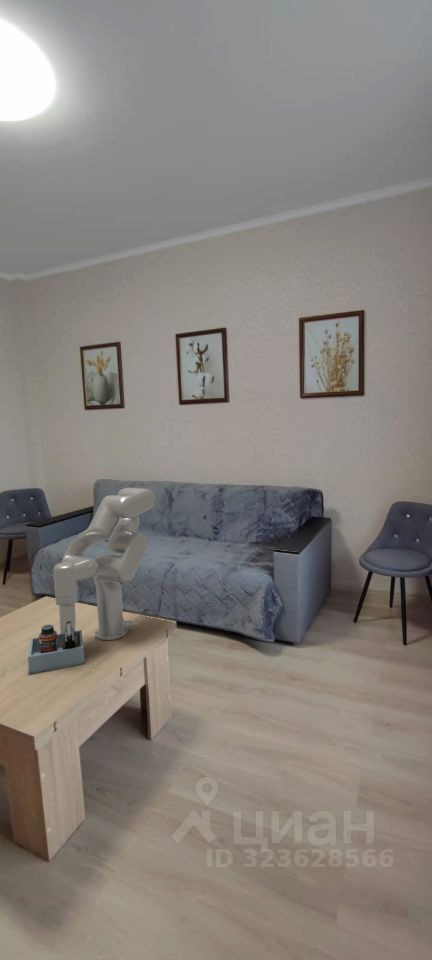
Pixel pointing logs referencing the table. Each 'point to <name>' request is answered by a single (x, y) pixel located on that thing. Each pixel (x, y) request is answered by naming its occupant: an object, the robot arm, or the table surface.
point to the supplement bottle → (48, 639)
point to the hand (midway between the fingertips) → (70, 646)
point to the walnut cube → (65, 640)
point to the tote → (55, 655)
